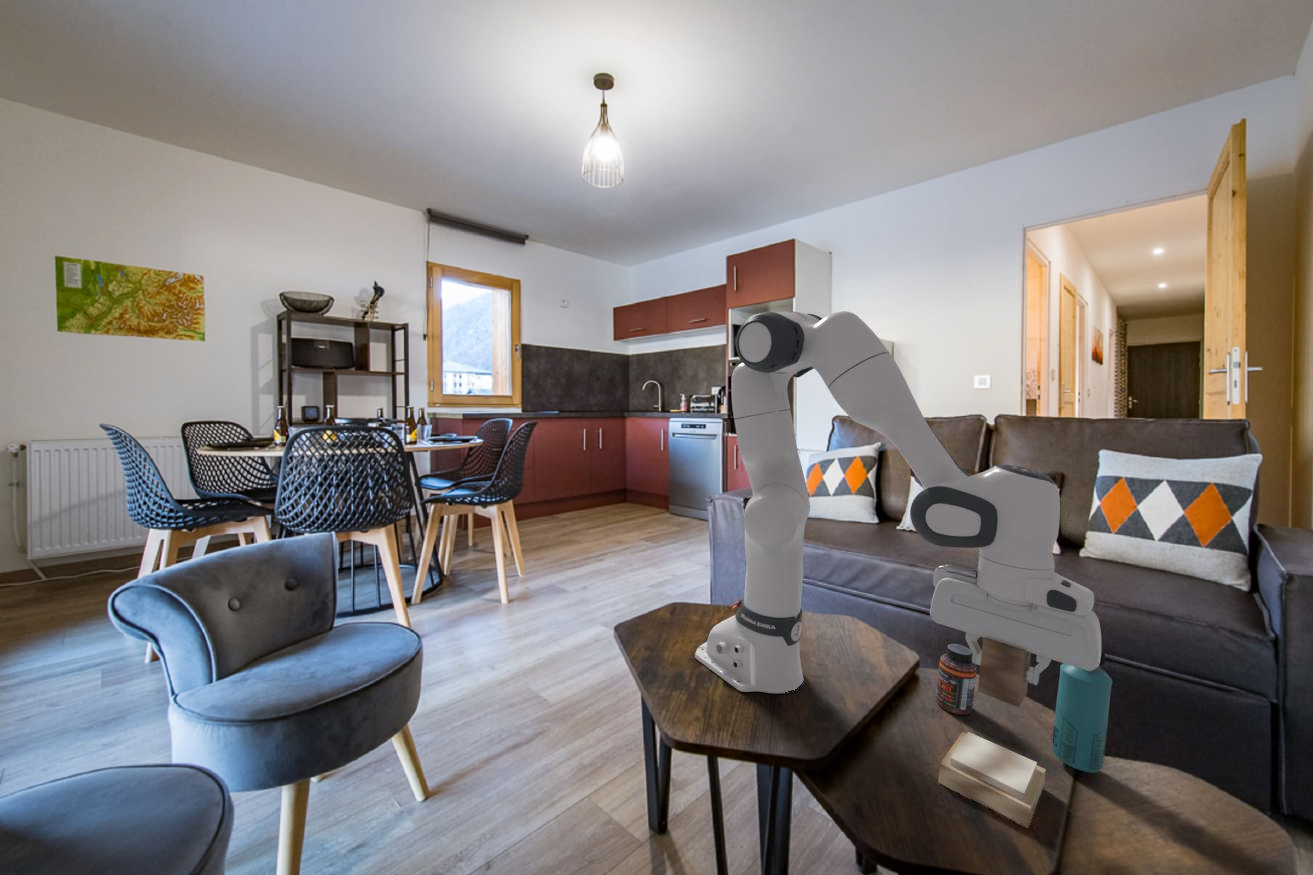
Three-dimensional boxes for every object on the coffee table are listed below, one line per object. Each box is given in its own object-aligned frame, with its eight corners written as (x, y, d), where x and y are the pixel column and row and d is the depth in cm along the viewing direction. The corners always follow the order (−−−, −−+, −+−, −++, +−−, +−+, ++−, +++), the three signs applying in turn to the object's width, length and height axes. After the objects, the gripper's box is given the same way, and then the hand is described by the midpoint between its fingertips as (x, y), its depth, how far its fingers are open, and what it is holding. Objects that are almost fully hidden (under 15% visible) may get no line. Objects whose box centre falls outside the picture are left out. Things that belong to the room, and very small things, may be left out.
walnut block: (977, 691, 75) (983, 638, 74) (987, 679, 78) (991, 628, 77) (1019, 707, 71) (1024, 651, 70) (1026, 693, 74) (1032, 640, 74)
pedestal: (938, 782, 76) (940, 756, 75) (960, 749, 83) (962, 725, 83) (1028, 829, 68) (1031, 801, 68) (1043, 788, 76) (1046, 762, 75)
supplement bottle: (928, 700, 97) (933, 643, 96) (949, 694, 99) (954, 638, 98) (958, 719, 91) (964, 658, 90) (979, 712, 94) (985, 653, 93)
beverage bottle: (1112, 786, 77) (1129, 658, 75) (1062, 778, 78) (1077, 652, 76) (1085, 757, 83) (1100, 638, 81) (1039, 749, 84) (1053, 632, 83)
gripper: (927, 564, 78) (920, 651, 79) (1104, 608, 64) (1092, 713, 65) (941, 557, 83) (933, 639, 84) (1109, 595, 68) (1097, 695, 69)
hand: (1004, 672), depth 74 cm, fingers closed on walnut block, 5 cm apart
